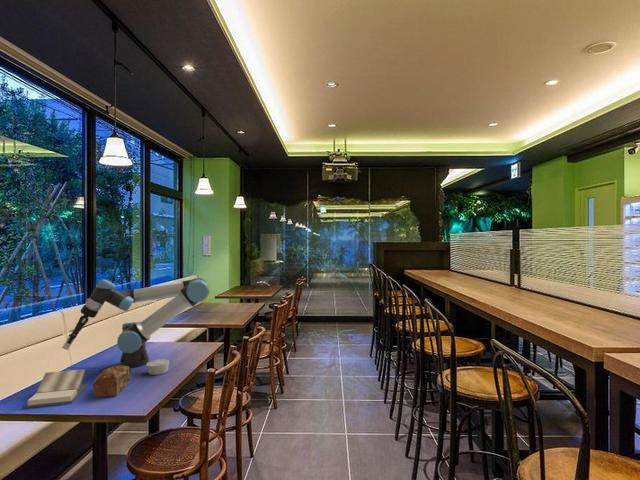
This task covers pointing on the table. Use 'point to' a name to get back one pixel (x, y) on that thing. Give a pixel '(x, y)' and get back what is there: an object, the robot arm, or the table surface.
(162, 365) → the ramekin
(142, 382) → the table surface
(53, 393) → the floor base
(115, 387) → the bread
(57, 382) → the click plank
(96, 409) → the table surface
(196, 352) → the table surface
